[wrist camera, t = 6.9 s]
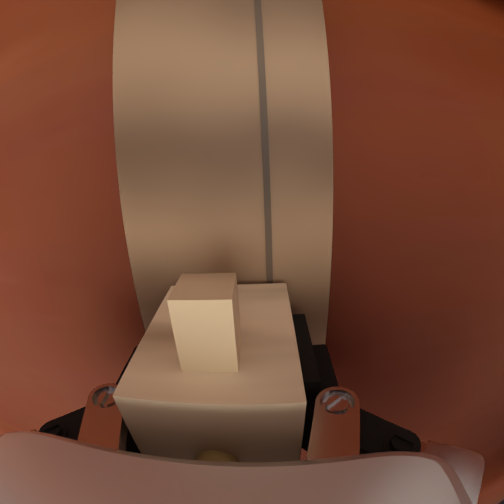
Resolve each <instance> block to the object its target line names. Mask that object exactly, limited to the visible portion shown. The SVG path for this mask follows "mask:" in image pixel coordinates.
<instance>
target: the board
mask: <svg viewBox="0 0 504 504" xmlns="http://www.w3.org/2000/svg"><path fill="white" fill-rule="evenodd" d="M113 115H114V135H115V150H116V162H117V173H118V183H119V192H120V200H121V208H122V215H123V222H124V229H125V236H126V242H127V248H128V254H129V259H130V265H131V270H132V275H133V280H134V285H135V290H136V295H137V299H138V304H139V308H140V313H141V317H142V321H143V325H144V329H145V332H146V330H147V329H148V327H149V325H150V323H151V321H152V319H153V318H154V316H155V314H156V312H157V310H158V309H159V307H160V305H161V303H162V301H163V300H164V298H165V296H166V294H167V293H168V291H169V289H170V287H171V286H175V285H176V283H177V281H178V279H179V277H180V276H181V274H203V273H236V274H237V285H241V284H271V283H286V285H287V290H288V296H289V301H290V307H291V312H292V314H305V317H306V321H307V325H308V329H309V333H310V338H311V342H312V345H319V344H325V341H326V331H327V319H328V307H329V293H330V277H331V257H332V230H333V135H332V109H331V90H330V75H329V62H328V50H327V40H326V30H325V21H324V13H323V5H322V0H116V10H115V24H114V42H113Z"/></svg>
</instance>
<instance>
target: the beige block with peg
mask: <svg viewBox="0 0 504 504" xmlns="http://www.w3.org/2000/svg"><path fill="white" fill-rule="evenodd" d="M112 396H113V398H114V400H115V402H116V405H117V407H118V409H119V411H120V413H121V415H122V417H123V419H124V421H125V423H126V426H127V428H128V429H129V431H130V433H131V435H132V437H133V439H134V441H135V443H136V445H137V447H138V449H139V450H140V452H141V454H146V455H153V456H160V457H168V458H177V459H187V460H199V461H215V462H286V461H300V454H301V446H302V439H303V430H304V422H305V412H306V403H307V402H306V395H305V389H304V383H303V377H302V371H301V365H300V359H299V353H298V347H297V341H296V335H295V329H294V324H293V318H292V312H291V307H290V301H289V296H288V290H287V285H286V283H271V284H241V285H237V274H236V273H203V274H181V276H180V277H179V279H178V281H177V283H176V285H175V286H171V287H170V289H169V291H168V293H167V294H166V296H165V298H164V300H163V301H162V303H161V305H160V307H159V309H158V310H157V312H156V314H155V316H154V318H153V319H152V321H151V323H150V325H149V327H148V329H147V330H146V332H145V334H144V336H143V338H142V340H141V341H140V343H139V345H138V347H137V349H136V351H135V353H134V355H133V357H132V358H131V360H130V362H129V364H128V366H127V368H126V370H125V372H124V374H123V376H122V378H121V380H120V382H119V384H118V386H117V388H116V390H115V391H114V393H113V395H112Z"/></svg>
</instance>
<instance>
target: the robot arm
mask: <svg viewBox="0 0 504 504" xmlns="http://www.w3.org/2000/svg"><path fill="white" fill-rule="evenodd" d="M292 318H293V324H294V329H295V335H296V341H297V347H298V353H299V359H300V365H301V371H302V377H303V383H304V389H305V395H306V402H307V403H306V412H305V422H304V430H303V439H302V446H301V448H303V449H304V450H306V451H307V452H308V453H307V458H306V460H302V461H286V462H215V461H199V460H187V459H177V458H168V457H160V456H153V455H146V454H141V452H140V450H139V449H138V447H137V445H136V443H135V441H134V439H133V437H132V435H131V433H130V431H129V429H128V428H127V426H126V423H125V421H124V419H123V417H122V415H121V413H120V411H119V409H118V407H117V405H116V402H115V400H114V398H113V396H112V395H113V393H114V391H115V390H116V388H117V386H118V384H119V382H120V380H121V378H122V376H123V374H124V372H125V370H126V368H127V366H128V364H129V362H130V360H131V358H132V357H133V355H134V353H135V351H136V349H137V347H138V346H136V347H135V349H134V351H133V353H132V354H131V356H130V358H129V360H128V362H127V364H126V366H125V367H124V369H123V371H122V373H121V375H120V377H119V379H118V381H117V383H116V384H110V383H109V384H103V385H100V386H98V387H96V388H95V389H93V390H92V391H91V393H90V394H89V396H88V400H87V404H86V406H85V407H83V408H81V409H78V410H76V411H74V412H71V413H69V414H66V415H64V416H61V417H59V418H56V419H54V420H51V421H49V422H47V423H45V424H44V425H43V426H42V427H41V428H40V430H39V432H37V431H36V429H35V430H31V431H14V432H9V433H6V434H3V435H2V436H0V504H477V500H478V496H479V491H480V487H481V482H482V477H483V472H484V467H485V463H484V459H483V457H482V455H481V454H480V453H478V452H476V451H474V450H470V449H465V448H460V447H455V446H450V445H446V444H441V443H437V442H433V441H428V442H427V443H423V442H420V440H419V438H418V437H417V436H416V434H414V433H413V432H411V431H409V430H407V429H404V428H402V427H400V426H397V425H395V424H393V423H391V422H388V421H386V420H384V419H382V418H379V417H377V416H375V415H373V414H371V413H369V412H367V411H364V410H362V409H360V401H359V397H358V396H357V394H356V393H355V392H353V391H352V390H350V389H348V388H345V387H338V383H337V380H336V376H335V373H334V370H333V366H332V363H331V359H330V356H329V353H328V349H327V346H326V345H325V344H319V345H312V342H311V338H310V333H309V329H308V325H307V321H306V317H305V314H292Z"/></svg>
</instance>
